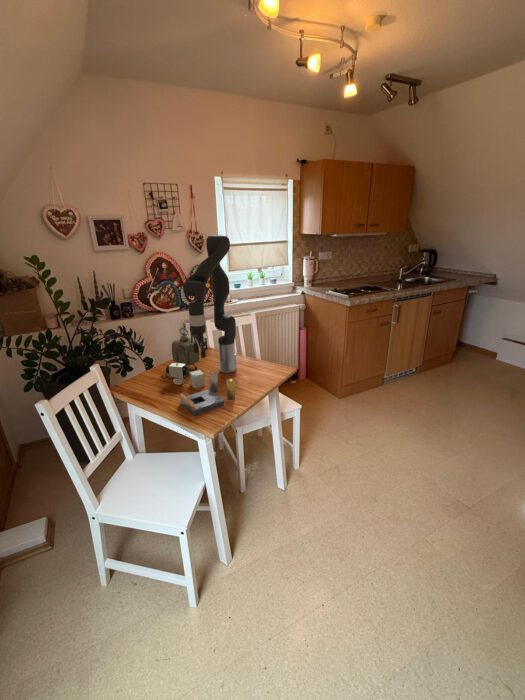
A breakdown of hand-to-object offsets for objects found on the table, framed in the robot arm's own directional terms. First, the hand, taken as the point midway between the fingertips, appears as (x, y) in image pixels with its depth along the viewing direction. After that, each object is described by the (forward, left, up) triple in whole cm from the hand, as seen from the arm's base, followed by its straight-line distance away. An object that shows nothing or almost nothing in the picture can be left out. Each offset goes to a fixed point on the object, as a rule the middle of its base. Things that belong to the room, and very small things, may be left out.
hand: (199, 354), depth 159 cm
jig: (+6, +13, -20) cm, 25 cm away
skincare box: (-1, -7, -20) cm, 21 cm away
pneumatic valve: (+6, -15, -20) cm, 26 cm away
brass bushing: (-8, +16, -20) cm, 27 cm away
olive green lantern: (-5, -31, -20) cm, 37 cm away
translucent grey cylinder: (-5, +4, -20) cm, 21 cm away
